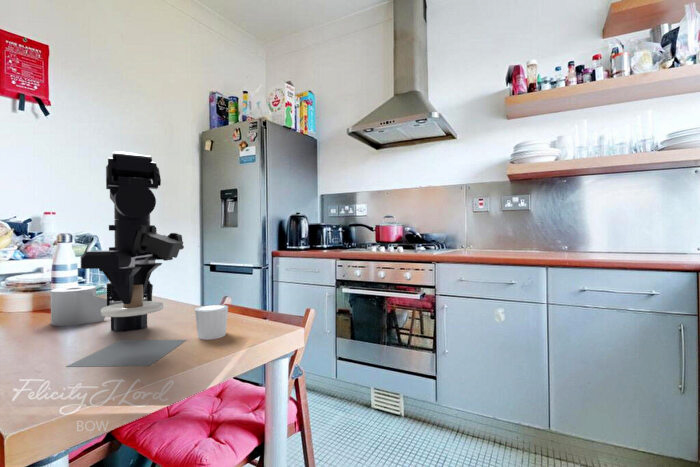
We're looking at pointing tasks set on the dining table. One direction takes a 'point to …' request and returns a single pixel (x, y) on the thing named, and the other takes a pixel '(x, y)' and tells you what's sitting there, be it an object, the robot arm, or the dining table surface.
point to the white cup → (211, 321)
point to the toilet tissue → (76, 305)
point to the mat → (129, 353)
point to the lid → (133, 305)
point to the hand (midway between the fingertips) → (133, 301)
